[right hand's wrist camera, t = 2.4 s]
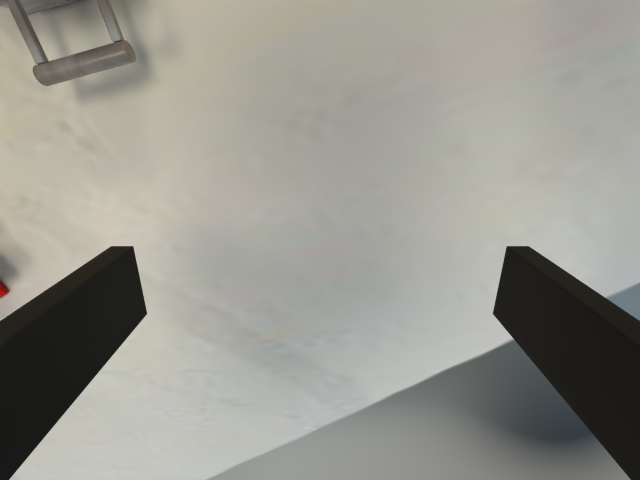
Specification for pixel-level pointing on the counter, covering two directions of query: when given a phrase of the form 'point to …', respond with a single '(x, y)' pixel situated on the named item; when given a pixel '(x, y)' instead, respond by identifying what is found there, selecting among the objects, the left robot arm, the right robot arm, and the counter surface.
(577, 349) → the right robot arm
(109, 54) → the drawer
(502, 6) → the counter surface
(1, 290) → the toy
